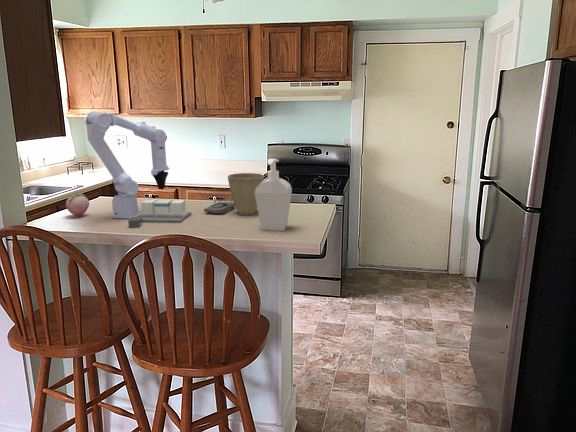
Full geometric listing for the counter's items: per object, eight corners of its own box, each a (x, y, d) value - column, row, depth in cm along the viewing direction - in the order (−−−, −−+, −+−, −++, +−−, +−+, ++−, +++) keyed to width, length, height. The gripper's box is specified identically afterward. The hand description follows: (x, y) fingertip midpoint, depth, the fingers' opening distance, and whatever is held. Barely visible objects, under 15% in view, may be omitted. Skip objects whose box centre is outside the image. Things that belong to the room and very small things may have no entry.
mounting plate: (136, 222, 189) (134, 204, 188) (150, 213, 203) (148, 197, 201) (180, 222, 187) (179, 205, 185) (191, 214, 201) (190, 198, 199)
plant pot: (248, 218, 192) (247, 179, 188) (222, 214, 200) (220, 176, 197) (271, 211, 203) (271, 174, 199) (245, 207, 212) (244, 171, 208)
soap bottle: (254, 231, 173) (252, 160, 167) (260, 224, 183) (258, 157, 176) (288, 232, 171) (287, 160, 165) (292, 225, 181) (291, 157, 174)
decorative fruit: (76, 213, 206) (73, 190, 203) (93, 214, 204) (91, 191, 202) (62, 218, 197) (59, 194, 194) (80, 219, 195) (77, 195, 193)
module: (155, 214, 192) (154, 202, 191) (159, 211, 197) (158, 200, 196) (168, 215, 192) (167, 202, 190) (172, 212, 197) (172, 200, 195)
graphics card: (214, 199, 216) (239, 199, 213) (215, 207, 217) (239, 207, 213) (196, 207, 201) (222, 208, 197) (197, 216, 202) (223, 217, 198)
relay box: (129, 228, 181) (128, 220, 180) (131, 224, 187) (131, 217, 186) (140, 228, 182) (139, 220, 181) (142, 224, 187) (141, 216, 187)
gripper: (161, 159, 196) (164, 192, 199) (174, 155, 210) (176, 186, 213) (145, 159, 197) (148, 192, 200) (158, 155, 211) (161, 185, 214)
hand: (161, 189), depth 207 cm, fingers closed
